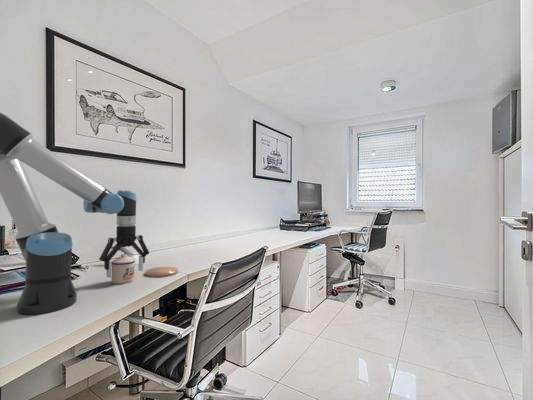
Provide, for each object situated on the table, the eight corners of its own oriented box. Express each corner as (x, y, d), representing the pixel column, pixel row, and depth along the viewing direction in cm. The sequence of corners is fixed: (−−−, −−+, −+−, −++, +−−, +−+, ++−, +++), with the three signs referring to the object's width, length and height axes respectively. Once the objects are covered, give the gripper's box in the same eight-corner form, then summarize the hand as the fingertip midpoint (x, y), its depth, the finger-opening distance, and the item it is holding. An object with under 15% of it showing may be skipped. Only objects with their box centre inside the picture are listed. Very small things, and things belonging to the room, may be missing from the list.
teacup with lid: (125, 285, 110) (126, 256, 110) (105, 283, 111) (106, 256, 111) (142, 277, 122) (143, 251, 122) (124, 276, 123) (125, 251, 123)
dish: (155, 279, 118) (155, 276, 119) (139, 273, 128) (139, 270, 128) (184, 272, 130) (184, 270, 130) (167, 267, 140) (167, 265, 140)
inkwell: (137, 265, 143) (137, 247, 143) (102, 265, 142) (103, 247, 142) (143, 262, 152) (144, 244, 152) (111, 262, 151) (111, 244, 151)
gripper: (98, 228, 104) (97, 281, 104) (157, 224, 124) (156, 269, 124) (90, 226, 109) (89, 278, 109) (149, 223, 129) (148, 267, 128)
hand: (125, 273), depth 116 cm, fingers open, 13 cm apart
